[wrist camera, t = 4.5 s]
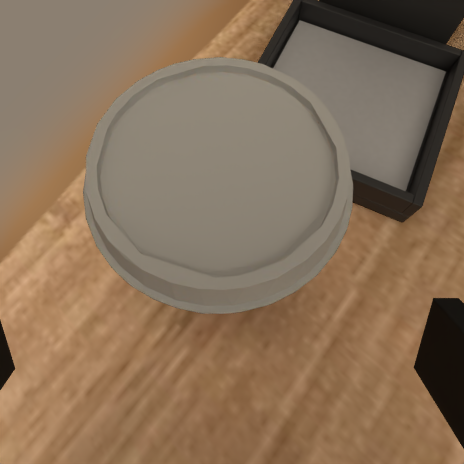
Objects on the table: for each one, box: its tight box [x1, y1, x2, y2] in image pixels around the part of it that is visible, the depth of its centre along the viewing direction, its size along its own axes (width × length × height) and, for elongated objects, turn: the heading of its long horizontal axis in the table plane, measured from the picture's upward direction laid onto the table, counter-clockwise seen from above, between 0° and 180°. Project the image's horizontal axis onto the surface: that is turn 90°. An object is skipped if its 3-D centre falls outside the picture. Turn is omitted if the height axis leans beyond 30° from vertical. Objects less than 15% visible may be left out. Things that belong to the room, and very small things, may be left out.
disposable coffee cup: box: [83, 57, 353, 314], centre depth 18 cm, size 10×10×12 cm
